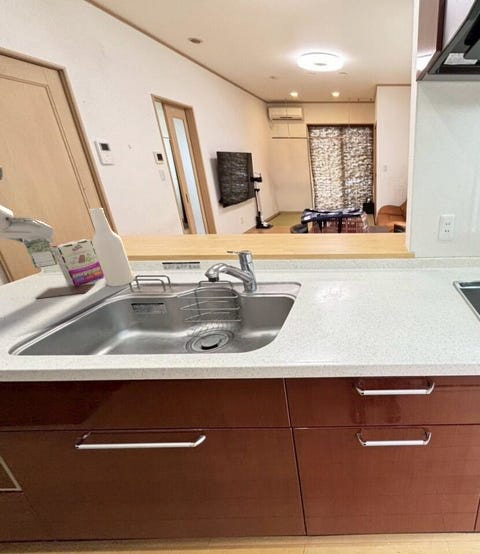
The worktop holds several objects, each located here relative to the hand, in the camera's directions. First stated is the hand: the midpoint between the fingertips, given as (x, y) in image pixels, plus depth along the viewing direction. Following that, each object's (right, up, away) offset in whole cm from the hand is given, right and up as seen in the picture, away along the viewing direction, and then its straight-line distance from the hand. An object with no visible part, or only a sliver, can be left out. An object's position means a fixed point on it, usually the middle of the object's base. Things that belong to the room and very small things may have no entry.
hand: (37, 241), depth 101 cm
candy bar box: (-4, -14, +21) cm, 26 cm away
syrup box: (0, -8, +3) cm, 9 cm away
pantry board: (-2, -18, +12) cm, 21 cm away
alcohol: (+12, -15, +20) cm, 28 cm away
